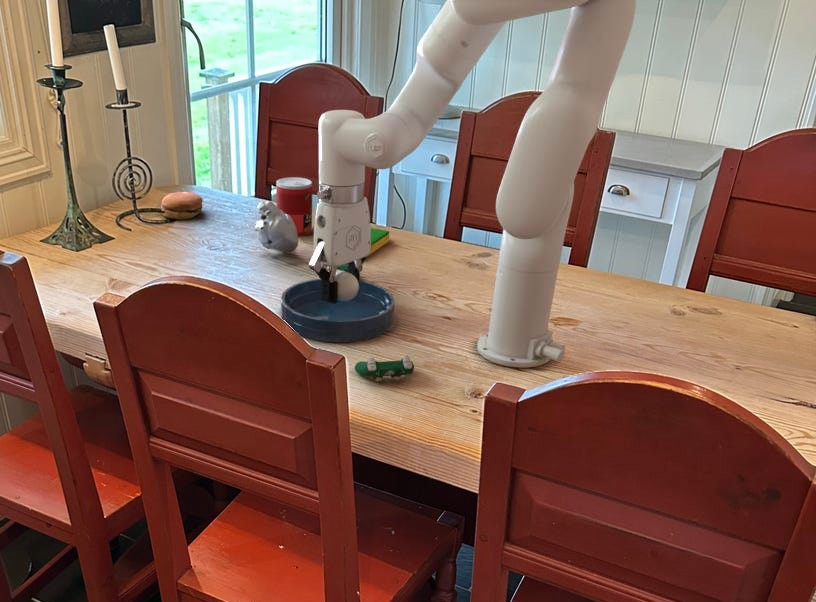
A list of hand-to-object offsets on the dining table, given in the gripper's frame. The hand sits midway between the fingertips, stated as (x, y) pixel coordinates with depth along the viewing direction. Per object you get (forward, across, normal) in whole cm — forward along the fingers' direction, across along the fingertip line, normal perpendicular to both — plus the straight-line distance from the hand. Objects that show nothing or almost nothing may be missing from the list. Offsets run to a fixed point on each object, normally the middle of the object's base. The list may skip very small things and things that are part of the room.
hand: (340, 295), depth 150 cm
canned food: (+4, +29, +42) cm, 51 cm away
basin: (+5, 0, +1) cm, 5 cm away
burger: (+4, +18, +69) cm, 71 cm away
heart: (+4, +15, +32) cm, 35 cm away
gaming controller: (+5, -11, -20) cm, 24 cm away
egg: (+1, 0, 0) cm, 1 cm away
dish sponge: (+5, +32, +24) cm, 40 cm away
